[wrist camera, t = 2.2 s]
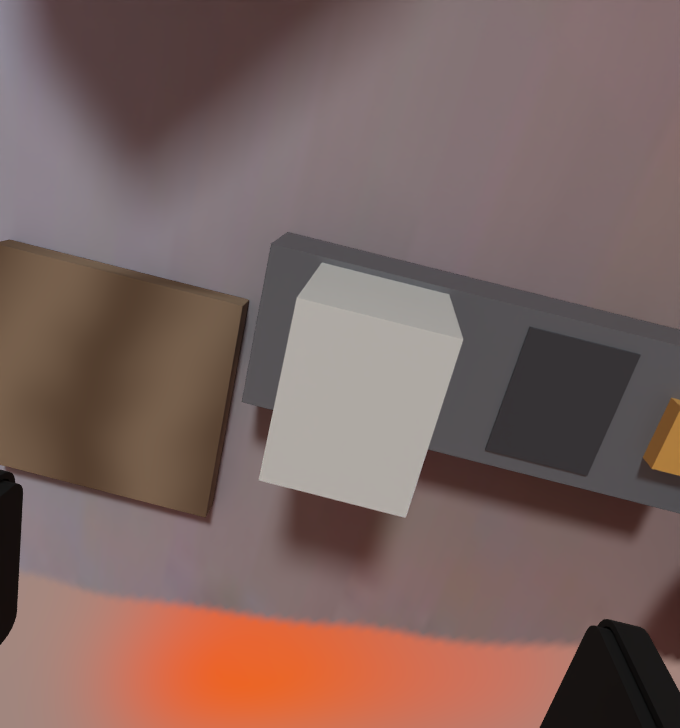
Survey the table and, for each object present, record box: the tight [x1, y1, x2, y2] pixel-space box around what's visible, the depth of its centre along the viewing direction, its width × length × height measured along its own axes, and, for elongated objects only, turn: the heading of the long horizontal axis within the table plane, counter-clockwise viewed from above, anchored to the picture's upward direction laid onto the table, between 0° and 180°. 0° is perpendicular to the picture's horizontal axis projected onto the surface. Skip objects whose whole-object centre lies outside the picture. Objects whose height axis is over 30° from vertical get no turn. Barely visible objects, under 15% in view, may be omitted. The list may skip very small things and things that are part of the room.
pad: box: [0, 240, 249, 518], centre depth 25 cm, size 10×10×1 cm
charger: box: [259, 263, 463, 518], centre depth 19 cm, size 4×6×7 cm
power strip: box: [242, 232, 680, 513], centre depth 22 cm, size 17×6×4 cm, turn 77°
